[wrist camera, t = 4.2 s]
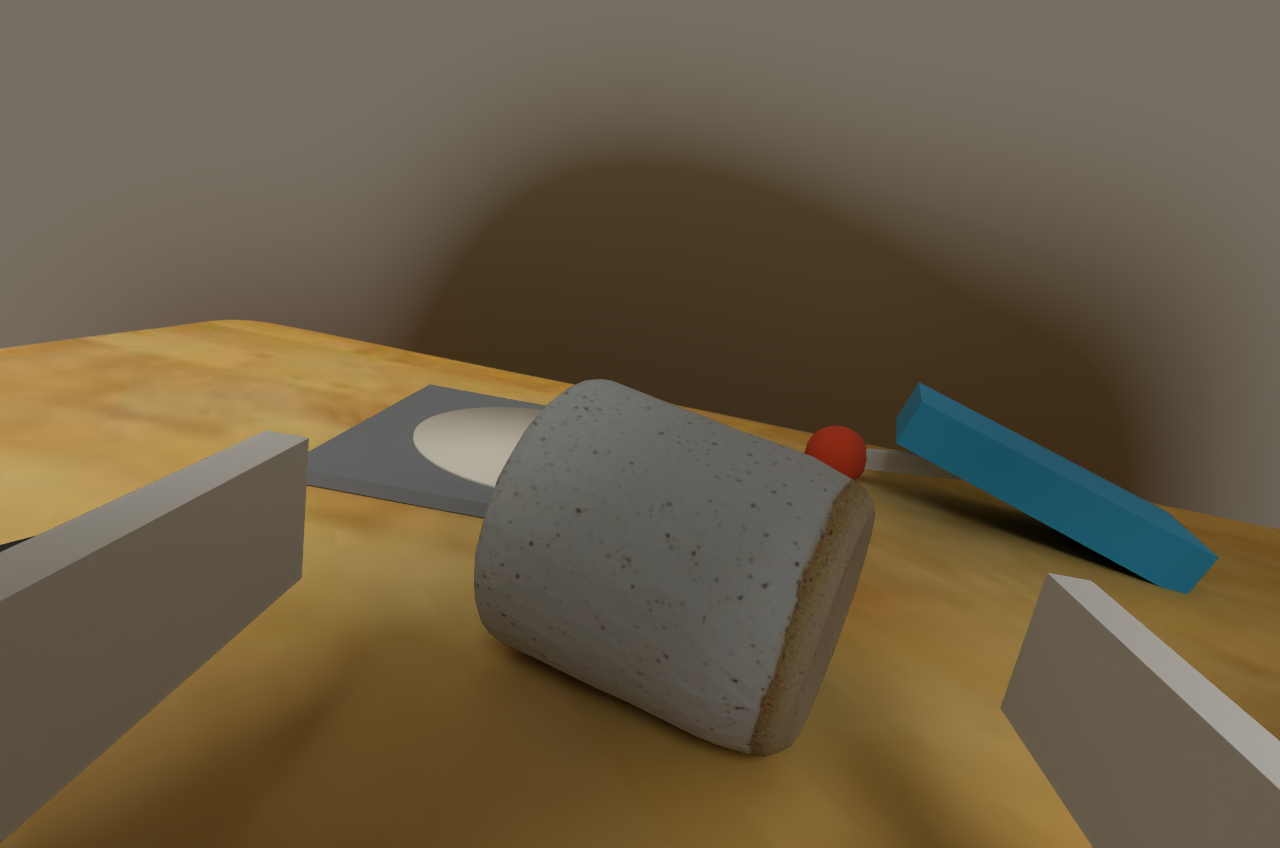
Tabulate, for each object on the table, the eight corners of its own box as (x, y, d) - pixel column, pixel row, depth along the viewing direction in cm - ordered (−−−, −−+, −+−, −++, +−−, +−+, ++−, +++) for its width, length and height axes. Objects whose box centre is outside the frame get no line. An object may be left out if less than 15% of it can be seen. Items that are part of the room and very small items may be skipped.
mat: (723, 448, 43) (726, 435, 43) (740, 566, 28) (745, 546, 27) (428, 394, 43) (430, 381, 43) (282, 480, 28) (283, 460, 28)
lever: (1085, 612, 41) (801, 452, 44) (1167, 511, 38) (860, 351, 42) (1119, 674, 34) (785, 481, 38) (1219, 558, 32) (853, 365, 36)
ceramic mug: (766, 852, 15) (860, 501, 13) (449, 690, 18) (488, 390, 16) (852, 637, 24) (913, 418, 22) (635, 557, 27) (673, 358, 25)
